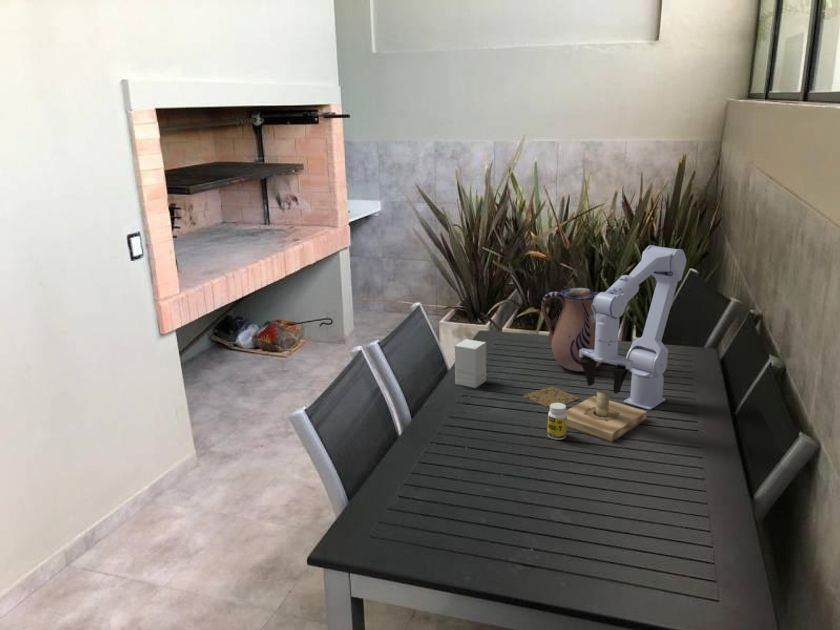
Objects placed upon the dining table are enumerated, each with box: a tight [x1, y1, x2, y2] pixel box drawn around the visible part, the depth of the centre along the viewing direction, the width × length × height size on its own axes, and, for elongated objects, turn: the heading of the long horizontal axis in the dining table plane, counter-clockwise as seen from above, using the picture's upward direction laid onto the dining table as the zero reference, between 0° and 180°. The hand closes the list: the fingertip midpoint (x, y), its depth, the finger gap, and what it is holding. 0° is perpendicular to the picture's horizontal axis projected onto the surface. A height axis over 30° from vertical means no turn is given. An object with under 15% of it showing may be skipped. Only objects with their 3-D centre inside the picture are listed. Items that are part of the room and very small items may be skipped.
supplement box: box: [454, 338, 487, 389], centre depth 209 cm, size 7×7×13 cm
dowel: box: [596, 389, 611, 417], centre depth 181 cm, size 3×3×8 cm
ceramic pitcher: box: [541, 287, 603, 373], centre depth 218 cm, size 18×21×25 cm
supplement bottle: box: [546, 403, 568, 441], centre depth 173 cm, size 5×5×8 cm
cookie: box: [523, 386, 582, 409], centre depth 198 cm, size 12×12×1 cm
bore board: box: [566, 395, 648, 443], centre depth 181 cm, size 18×16×2 cm
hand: (603, 388), depth 179 cm, fingers open, 7 cm apart
